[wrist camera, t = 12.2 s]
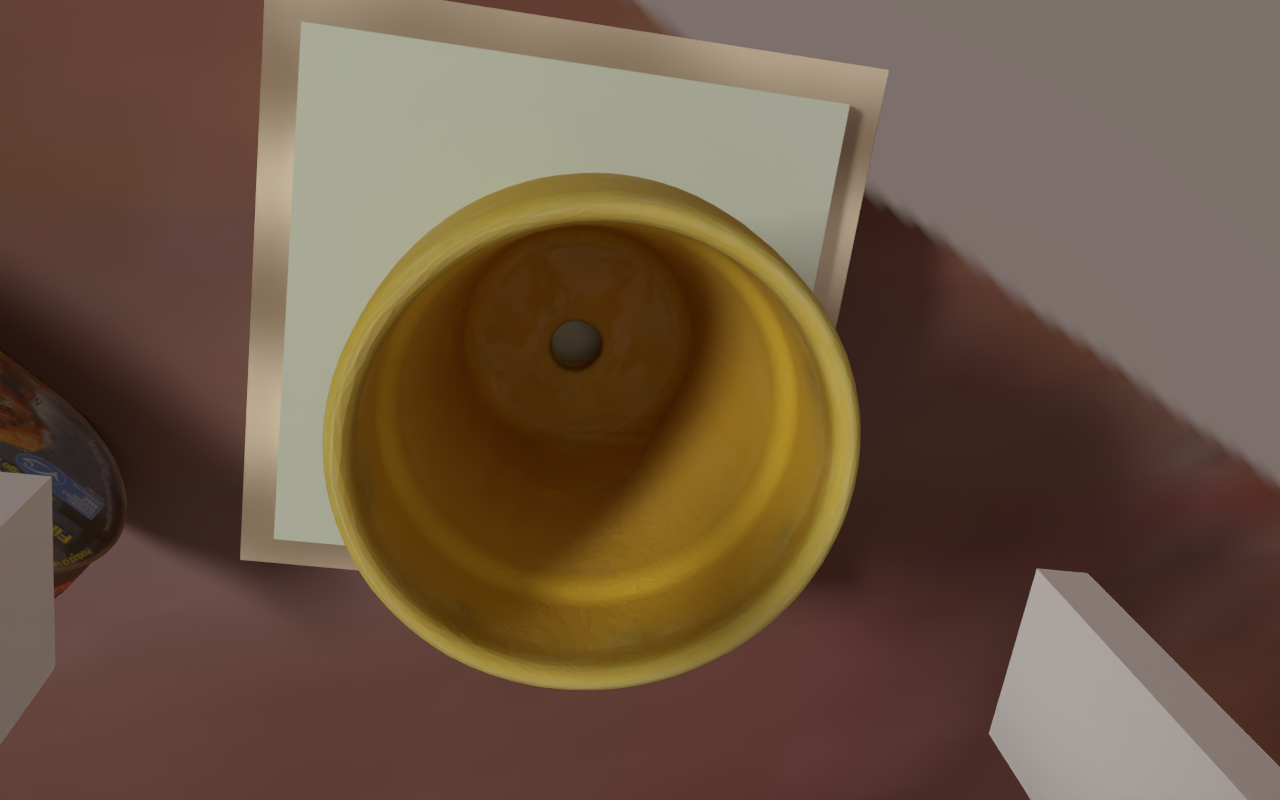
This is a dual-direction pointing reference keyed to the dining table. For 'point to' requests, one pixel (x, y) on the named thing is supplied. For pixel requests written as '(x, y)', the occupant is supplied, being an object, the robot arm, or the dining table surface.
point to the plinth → (498, 181)
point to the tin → (62, 469)
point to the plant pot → (590, 434)
